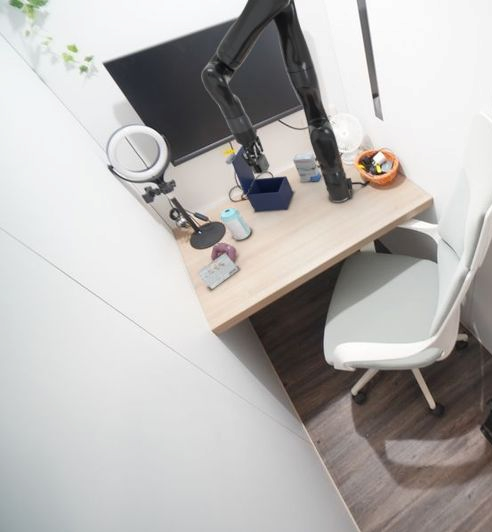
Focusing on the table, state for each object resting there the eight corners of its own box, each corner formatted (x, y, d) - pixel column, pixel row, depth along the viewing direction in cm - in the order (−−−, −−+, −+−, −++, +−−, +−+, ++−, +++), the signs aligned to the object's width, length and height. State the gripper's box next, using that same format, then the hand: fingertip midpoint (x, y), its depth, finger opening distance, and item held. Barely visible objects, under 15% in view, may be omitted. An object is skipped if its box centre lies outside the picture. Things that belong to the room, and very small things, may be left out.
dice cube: (266, 172, 125) (260, 161, 121) (254, 173, 125) (248, 162, 121) (269, 165, 128) (264, 154, 124) (257, 166, 128) (251, 155, 125)
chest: (293, 192, 147) (286, 176, 141) (287, 209, 139) (279, 192, 133) (263, 195, 148) (254, 179, 142) (255, 212, 141) (246, 195, 134)
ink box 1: (208, 286, 115) (192, 269, 107) (235, 267, 120) (222, 249, 112) (212, 290, 113) (196, 272, 106) (239, 270, 118) (225, 252, 111)
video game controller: (240, 260, 124) (237, 244, 121) (230, 265, 120) (227, 247, 117) (220, 256, 127) (217, 239, 124) (210, 260, 123) (206, 243, 120)
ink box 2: (321, 175, 154) (313, 153, 145) (318, 181, 151) (310, 159, 142) (304, 175, 155) (295, 153, 146) (301, 181, 152) (292, 159, 143)
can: (230, 239, 130) (214, 217, 121) (241, 227, 134) (226, 205, 125) (244, 241, 128) (229, 219, 119) (254, 230, 133) (240, 207, 123)
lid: (243, 145, 130) (231, 145, 130) (233, 162, 122) (220, 161, 122) (255, 178, 141) (243, 177, 141) (246, 195, 134) (234, 194, 133)
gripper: (245, 136, 109) (266, 178, 122) (256, 116, 118) (275, 158, 131) (224, 138, 109) (247, 180, 122) (237, 119, 119) (257, 160, 131)
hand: (261, 168), depth 126 cm, fingers closed on dice cube, 5 cm apart
